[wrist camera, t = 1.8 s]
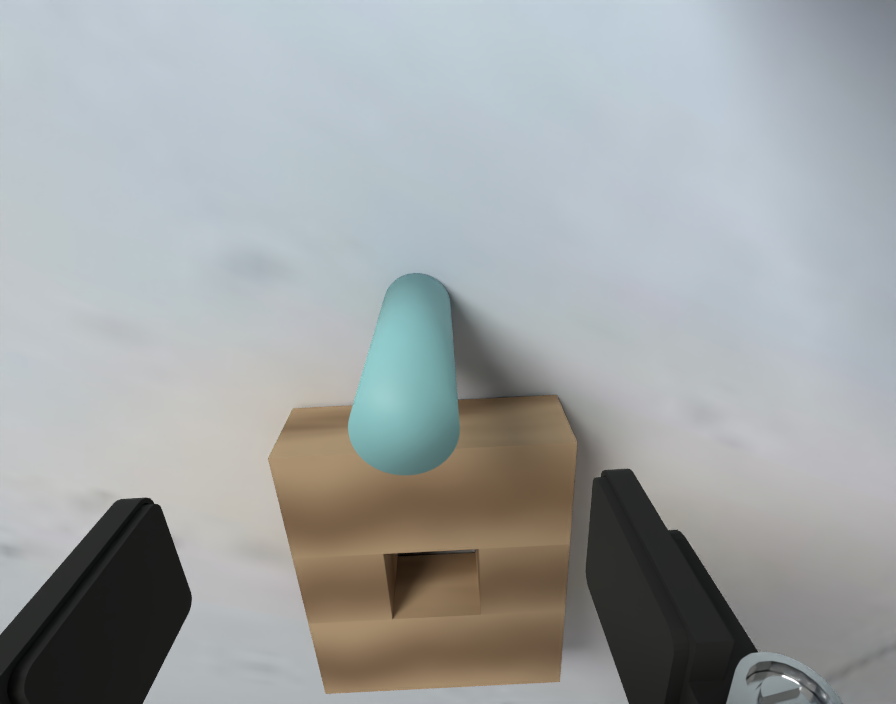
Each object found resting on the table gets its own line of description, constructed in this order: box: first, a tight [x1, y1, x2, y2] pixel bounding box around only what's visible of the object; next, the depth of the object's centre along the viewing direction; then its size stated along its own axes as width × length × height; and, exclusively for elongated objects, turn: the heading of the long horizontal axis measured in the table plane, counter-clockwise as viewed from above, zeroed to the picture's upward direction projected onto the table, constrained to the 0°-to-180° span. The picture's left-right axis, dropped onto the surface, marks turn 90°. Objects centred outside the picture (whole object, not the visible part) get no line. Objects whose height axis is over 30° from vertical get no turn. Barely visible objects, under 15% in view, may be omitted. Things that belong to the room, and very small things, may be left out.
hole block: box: [268, 395, 577, 694], centre depth 26 cm, size 16×13×4 cm
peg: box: [348, 273, 460, 475], centre depth 18 cm, size 3×3×10 cm
